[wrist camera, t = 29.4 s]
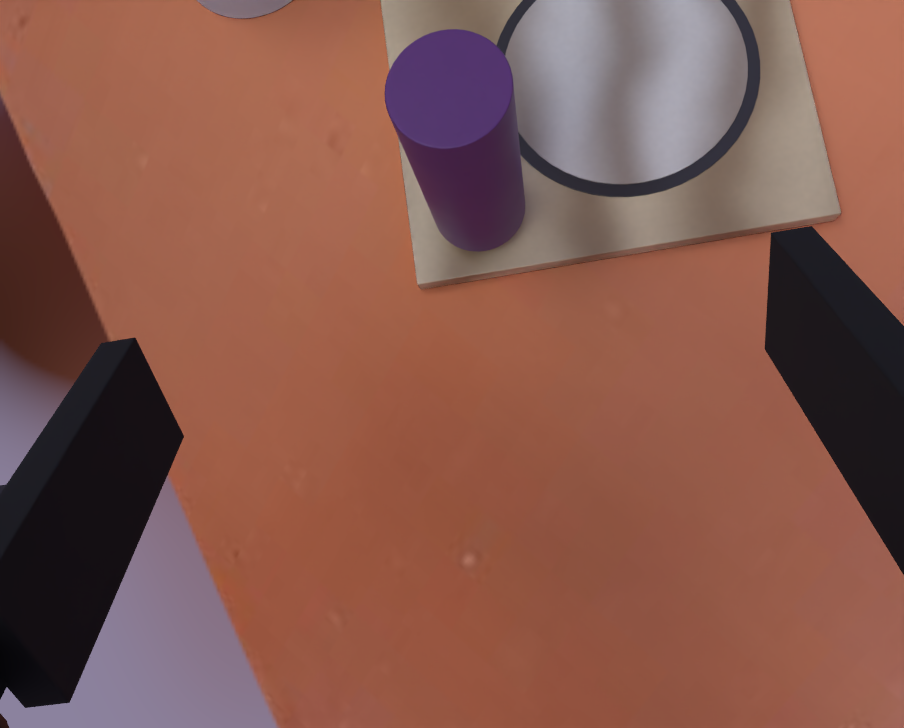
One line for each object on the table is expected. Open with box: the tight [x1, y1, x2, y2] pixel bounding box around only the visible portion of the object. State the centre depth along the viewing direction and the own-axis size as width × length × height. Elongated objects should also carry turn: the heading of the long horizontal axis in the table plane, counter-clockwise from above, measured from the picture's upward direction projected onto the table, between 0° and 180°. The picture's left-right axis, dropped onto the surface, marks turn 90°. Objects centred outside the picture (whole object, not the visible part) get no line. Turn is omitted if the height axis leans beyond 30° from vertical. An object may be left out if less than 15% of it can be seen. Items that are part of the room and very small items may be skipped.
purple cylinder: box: [385, 29, 525, 252], centre depth 32 cm, size 4×4×12 cm
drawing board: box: [380, 0, 841, 289], centre depth 39 cm, size 20×18×1 cm
